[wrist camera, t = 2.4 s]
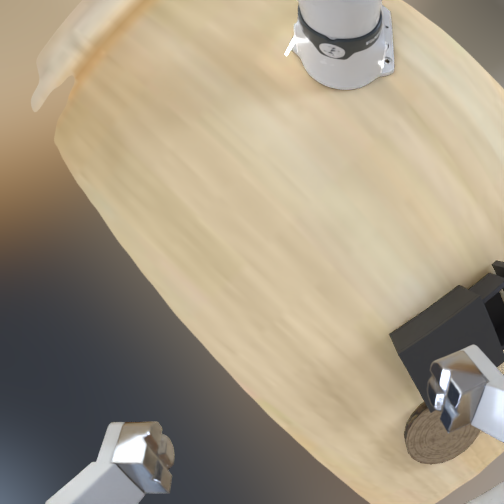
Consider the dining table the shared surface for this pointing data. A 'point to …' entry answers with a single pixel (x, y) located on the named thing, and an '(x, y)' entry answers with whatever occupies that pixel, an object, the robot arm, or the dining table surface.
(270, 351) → the dining table surface
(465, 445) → the round wood slice
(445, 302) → the cabinet
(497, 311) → the drawer
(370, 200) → the dining table surface
